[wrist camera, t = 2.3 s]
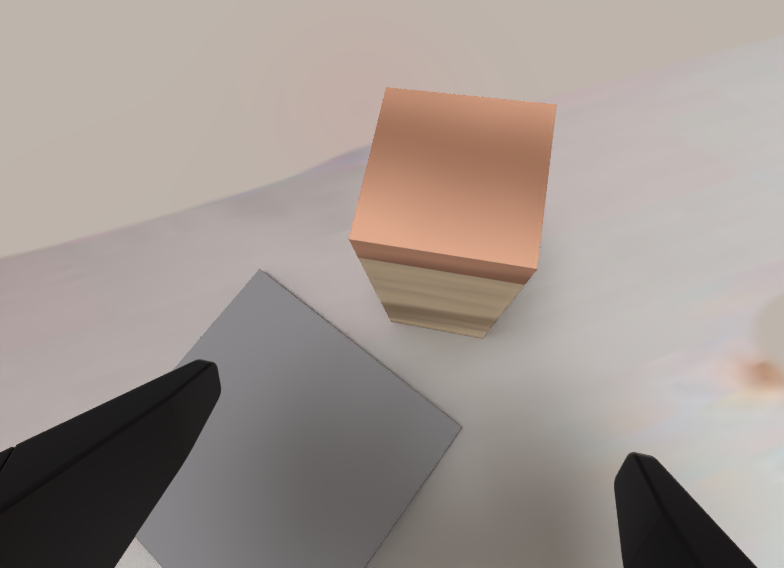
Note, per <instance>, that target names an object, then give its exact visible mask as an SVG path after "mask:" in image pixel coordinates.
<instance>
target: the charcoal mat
mask: <svg viewBox="0 0 784 568" xmlns="http://www.w3.org/2000/svg"><path fill="white" fill-rule="evenodd" d="M197 359H203V360H208V361H212V362H215V363H216V365H217V367H218V372H219V378H220V383H221V394H220V397H219V400H218V401H217V403H216V405H215V407H214V409H213V411H212V413H211V415H210V417H209V418H208V420H207V422H206V424H205V426H204V428H203V430H202V432H201V433H200V435H199V437H198V439H197V441H196V443H195V445H194V447H193V449H192V450H191V452H190V454H189V456H188V457H187V459H186V461H185V462H184V464H183V465H182V467H181V468H180V470H179V471H178V473H177V474H176V476H175V477H174V479H173V480H172V482H171V483H170V485H169V486H168V488H167V489H166V491H165V492H164V494H163V495H162V497H161V498H160V500H159V501H158V503H157V504H156V506H155V507H154V509H153V510H152V512H151V513H150V515H149V516H148V518H147V519H146V521H145V522H144V524H143V525H142V527H141V528H140V530H139V531H138V533H137V534H136V536H135V537H136V538H137V540H138V541H139V542H140V543H141V544H142V545H143V546H144V547H145V549H146V550H147V551H148V552H149V553H150V554H151V555H152V556H153V557H154V559H155V560H156V561H157V562H158V563H159V564H160V565H161V566H162V568H364V567H365V566H366V564H367V563H368V561H369V560H370V559H371V557H372V556H373V554H374V553H375V551H376V550H377V548H378V547H379V546H380V544H381V543H382V541H383V540H384V538H385V537H386V536H387V534H388V533H389V531H390V530H391V528H392V527H393V525H394V524H395V523H396V521H397V520H398V518H399V517H400V515H401V514H402V512H403V511H404V510H405V508H406V507H407V505H408V504H409V502H410V501H411V500H412V498H413V497H414V495H415V494H416V492H417V491H418V489H419V488H420V487H421V485H422V484H423V482H424V481H425V479H426V478H427V476H428V475H429V474H430V472H431V471H432V469H433V468H434V466H435V465H436V464H437V462H438V461H439V459H440V458H441V456H442V455H443V453H444V452H445V451H446V449H447V448H448V446H449V445H450V443H451V442H452V440H453V439H454V438H455V436H456V435H457V433H458V432H459V430H460V429H461V428H462V427H461V426H460V425H458V424H457V423H456V422H455V421H453V420H452V419H451V418H449V417H448V416H447V415H446V414H444V413H443V412H442V411H441V410H439V409H438V408H437V407H435V406H434V405H433V404H432V403H430V402H429V401H428V400H426V399H425V398H424V397H423V396H421V395H420V394H419V393H418V392H416V391H415V390H414V389H412V388H411V387H410V386H409V385H407V384H406V383H405V382H403V381H402V380H401V379H400V378H398V377H397V376H396V375H395V374H393V373H392V372H391V371H389V370H388V369H387V368H386V367H384V366H383V365H382V364H380V363H379V362H378V361H377V360H375V359H374V358H373V357H372V356H370V355H369V354H368V353H366V352H365V351H364V350H363V349H361V348H360V347H359V346H357V345H356V344H355V343H354V342H352V341H351V340H350V339H349V338H347V337H346V336H345V335H343V334H342V333H341V332H340V331H338V330H337V329H336V328H335V327H333V326H332V325H331V324H329V323H328V322H327V321H326V320H324V319H323V318H322V317H320V316H319V315H318V314H317V313H315V312H314V311H313V310H312V309H310V308H309V307H308V306H306V305H305V304H304V303H303V302H301V301H300V300H299V299H297V298H296V297H295V296H294V295H292V294H291V293H290V292H289V291H287V290H286V289H285V288H283V287H282V286H281V285H280V284H278V283H277V282H276V281H274V280H273V279H272V278H271V277H269V276H268V275H267V274H266V273H264V272H263V271H262V270H260V269H259V270H258V271H257V273H256V274H255V275H254V276H253V277H252V278H251V280H250V281H249V282H248V283H247V284H246V285H245V287H244V288H243V289H242V290H241V291H240V292H239V294H238V295H237V296H236V297H235V298H234V299H233V301H232V302H231V303H230V304H229V305H228V306H227V308H226V309H225V310H224V311H223V312H222V313H221V315H220V316H219V317H218V318H217V319H216V320H215V322H214V323H213V324H212V325H211V326H210V328H209V329H208V330H207V331H206V332H205V333H204V335H203V336H202V337H201V338H200V339H199V340H198V342H197V343H196V344H195V345H194V346H193V347H192V349H191V350H190V351H189V352H188V353H187V354H186V356H185V357H184V358H183V359H182V360H181V361H180V363H179V364H178V365H177V366H176V367H175V368H174V370H175V369H177V368H179V367H182V366H184V365H186V364H188V363H190V362H192V361H194V360H197Z"/></svg>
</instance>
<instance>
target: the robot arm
mask: <svg viewBox="0 0 784 568" xmlns="http://www.w3.org/2000/svg"><path fill="white" fill-rule="evenodd" d="M220 394H221V383H220V378H219V372H218V367H217V365H216V363H215V362H212V361H208V360H203V359H197V360H194V361H192V362H190V363H188V364H186V365H184V366H182V367H179V368H177V369H175V370H173V371H171V372H169V373H167V374H165V375H163V376H160V377H158V378H156V379H154V380H152V381H150V382H148V383H146V384H144V385H141V386H139V387H137V388H135V389H133V390H131V391H129V392H127V393H125V394H123V395H120V396H118V397H116V398H114V399H112V400H110V401H108V402H106V403H104V404H101V405H99V406H97V407H95V408H93V409H91V410H89V411H87V412H85V413H82V414H80V415H78V416H76V417H74V418H72V419H70V420H68V421H66V422H63V423H61V424H59V425H57V426H55V427H53V428H51V429H49V430H47V431H44V432H42V433H40V434H38V435H36V436H34V437H32V438H30V439H28V440H25V441H23V442H21V443H19V444H17V445H16V446H15V447H10V448H8V449H6V450H4V451H2V452H0V568H115V566H116V565H117V563H118V562H119V560H120V559H121V557H122V556H123V554H124V553H125V551H126V550H127V548H128V547H129V545H130V544H131V542H132V541H133V539H134V537H135V536H136V534H137V533H138V531H139V530H140V528H141V527H142V525H143V524H144V522H145V521H146V519H147V518H148V516H149V515H150V513H151V512H152V510H153V509H154V507H155V506H156V504H157V503H158V501H159V500H160V498H161V497H162V495H163V494H164V492H165V491H166V489H167V488H168V486H169V485H170V483H171V482H172V480H173V479H174V477H175V476H176V474H177V473H178V471H179V470H180V468H181V467H182V465H183V464H184V462H185V461H186V459H187V457H188V456H189V454H190V452H191V450H192V449H193V447H194V445H195V443H196V441H197V439H198V437H199V435H200V433H201V432H202V430H203V428H204V426H205V424H206V422H207V420H208V418H209V417H210V415H211V413H212V411H213V409H214V407H215V405H216V403H217V401H218V400H219V397H220ZM614 491H615V500H616V509H617V518H618V526H619V535H620V544H621V553H622V560H623V567H624V568H757V567H756V566H755V565H754V563H753V562H752V561H751V560H750V559H749V558H748V557H747V556H746V555H745V554H744V553H743V552H742V551H741V549H740V548H739V547H738V546H737V545H736V544H735V543H734V542H733V541H732V540H731V539H730V538H729V537H728V535H727V534H726V533H725V532H724V531H723V530H722V529H721V528H720V527H719V526H718V525H717V524H716V523H715V521H714V520H713V519H712V518H711V517H710V516H709V515H708V514H707V513H706V512H705V511H704V510H703V509H702V507H701V506H700V505H699V504H698V503H697V502H696V501H695V500H694V499H693V498H692V497H691V496H690V495H689V493H688V492H687V491H686V490H685V489H684V488H683V487H682V486H681V485H680V484H679V483H678V482H677V480H676V479H675V478H674V477H673V476H672V475H671V474H670V473H669V472H668V471H667V470H666V469H665V468H664V466H663V465H662V464H661V463H660V462H659V461H658V460H657V459H656V458H654V457H653V456H650V455H645V454H641V453H636V452H631V453H630V454H628V456H627V457H626V459H625V461H624V463H623V464H622V466H621V468H620V470H619V472H618V473H617V475H616V478H615V482H614Z"/></svg>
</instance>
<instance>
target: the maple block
mask: <svg viewBox="0 0 784 568" xmlns="http://www.w3.org/2000/svg"><path fill="white" fill-rule="evenodd" d="M556 106H557V105H555V104H545V103H535V102H525V101H514V100H506V99H496V98H486V97H476V96H466V95H456V94H447V93H437V92H427V91H416V90H407V89H396V88H386V90H385V94H384V98H383V103H382V106H381V110H380V114H379V119H378V123H377V127H376V131H375V135H374V139H373V143H372V147H371V151H370V155H369V159H368V163H367V167H366V171H365V175H364V179H363V183H362V187H361V191H360V196H359V200H358V204H357V208H356V212H355V216H354V220H353V224H352V228H351V232H350V236H349V241H350V242H351V244H352V246H353V248H354V250H355V252H356V254H357V256H358V258H359V260H360V262H361V264H362V266H363V268H364V270H365V272H366V274H367V276H368V277H369V279H370V281H371V283H372V285H373V287H374V289H375V291H376V293H377V295H378V297H379V299H380V301H381V303H382V305H383V307H384V309H385V311H386V312H387V314H388V316H389V318H390V320H391V322H396V323H402V324H407V325H413V326H418V327H423V328H429V329H434V330H440V331H445V332H450V333H456V334H461V335H466V336H472V337H477V338H483V337H484V336H485V334H486V333H487V332H488V331H489V329H490V328H491V327H492V326H493V324H494V323H495V322H496V321H497V319H498V318H499V317H500V315H501V314H502V313H503V312H504V310H505V309H506V308H507V307H508V305H509V304H510V303H511V302H512V300H513V299H514V298H515V296H516V295H517V294H518V293H519V291H520V290H521V289H522V288H523V286H524V285H525V284H526V283H527V281H528V280H529V279H530V277H531V276H532V275H533V274H534V272H535V271H536V270H537V267H538V258H539V250H540V241H541V233H542V224H543V216H544V207H545V199H546V191H547V182H548V174H549V165H550V157H551V148H552V140H553V131H554V123H555V114H556Z"/></svg>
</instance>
